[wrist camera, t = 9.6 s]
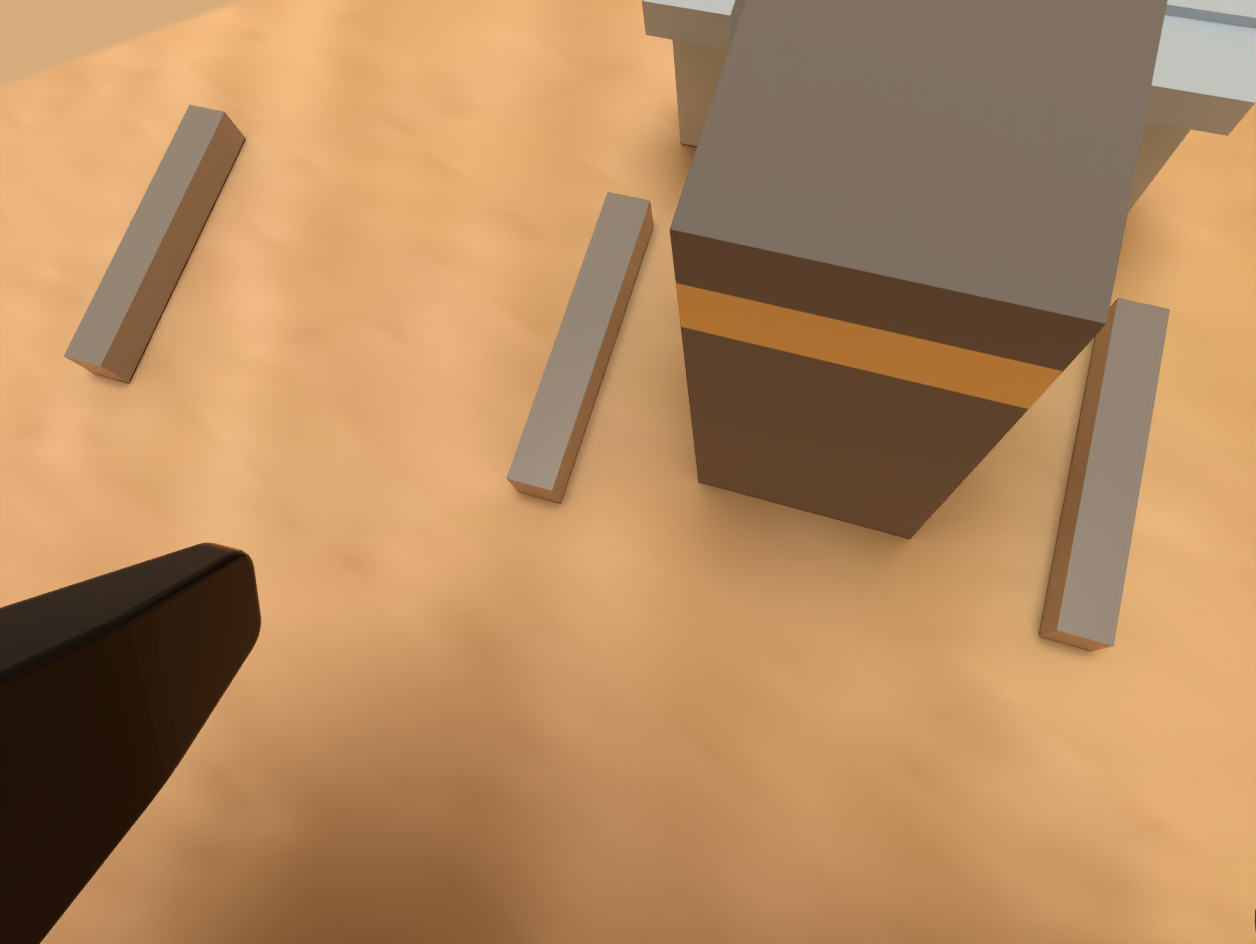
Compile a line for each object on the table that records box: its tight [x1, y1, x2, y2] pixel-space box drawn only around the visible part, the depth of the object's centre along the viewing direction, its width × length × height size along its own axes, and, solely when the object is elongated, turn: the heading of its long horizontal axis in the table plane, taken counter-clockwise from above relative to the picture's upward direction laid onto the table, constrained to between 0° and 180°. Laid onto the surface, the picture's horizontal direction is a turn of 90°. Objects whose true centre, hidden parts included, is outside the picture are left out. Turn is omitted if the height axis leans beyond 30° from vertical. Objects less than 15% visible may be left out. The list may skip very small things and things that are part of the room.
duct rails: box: [64, 0, 1256, 651], centre depth 18 cm, size 10×23×6 cm, turn 73°
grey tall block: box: [670, 0, 1168, 539], centre depth 15 cm, size 4×4×10 cm
